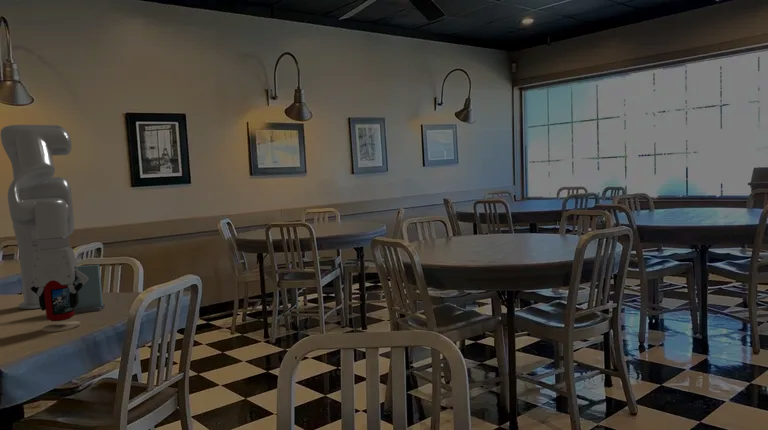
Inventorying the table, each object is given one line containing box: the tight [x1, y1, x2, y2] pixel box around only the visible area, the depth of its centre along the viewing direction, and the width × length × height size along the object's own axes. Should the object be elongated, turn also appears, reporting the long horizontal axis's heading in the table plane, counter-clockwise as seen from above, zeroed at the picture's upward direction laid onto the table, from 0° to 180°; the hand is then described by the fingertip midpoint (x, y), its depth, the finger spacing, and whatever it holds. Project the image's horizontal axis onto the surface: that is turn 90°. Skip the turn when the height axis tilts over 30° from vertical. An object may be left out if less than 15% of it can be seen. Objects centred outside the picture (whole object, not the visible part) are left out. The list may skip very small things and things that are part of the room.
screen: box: [74, 264, 106, 314], centre depth 176 cm, size 5×14×14 cm, turn 99°
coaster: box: [42, 320, 81, 333], centre depth 156 cm, size 9×9×1 cm
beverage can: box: [43, 280, 75, 323], centre depth 156 cm, size 7×7×12 cm
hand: (59, 307), depth 156 cm, fingers closed on beverage can, 6 cm apart
